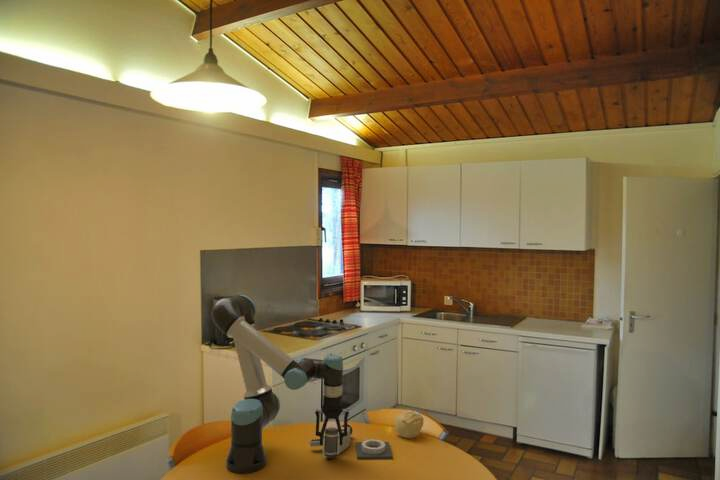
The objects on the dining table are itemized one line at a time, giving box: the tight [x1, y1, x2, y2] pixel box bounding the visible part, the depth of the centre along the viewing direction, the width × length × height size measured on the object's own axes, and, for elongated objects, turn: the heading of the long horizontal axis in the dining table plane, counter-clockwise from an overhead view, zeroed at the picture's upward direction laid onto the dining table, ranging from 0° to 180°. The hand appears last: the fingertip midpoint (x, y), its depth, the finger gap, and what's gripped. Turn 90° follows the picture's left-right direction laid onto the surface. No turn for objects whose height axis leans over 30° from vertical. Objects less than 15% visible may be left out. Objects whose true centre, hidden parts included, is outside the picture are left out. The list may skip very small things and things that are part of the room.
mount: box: [355, 439, 393, 460], centre depth 204 cm, size 14×14×3 cm
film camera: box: [309, 423, 353, 454], centre depth 211 cm, size 7×19×15 cm
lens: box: [323, 427, 338, 459], centre depth 197 cm, size 5×5×10 cm
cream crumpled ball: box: [394, 410, 424, 439], centre depth 221 cm, size 12×12×11 cm
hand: (330, 452), depth 197 cm, fingers closed on lens, 5 cm apart
